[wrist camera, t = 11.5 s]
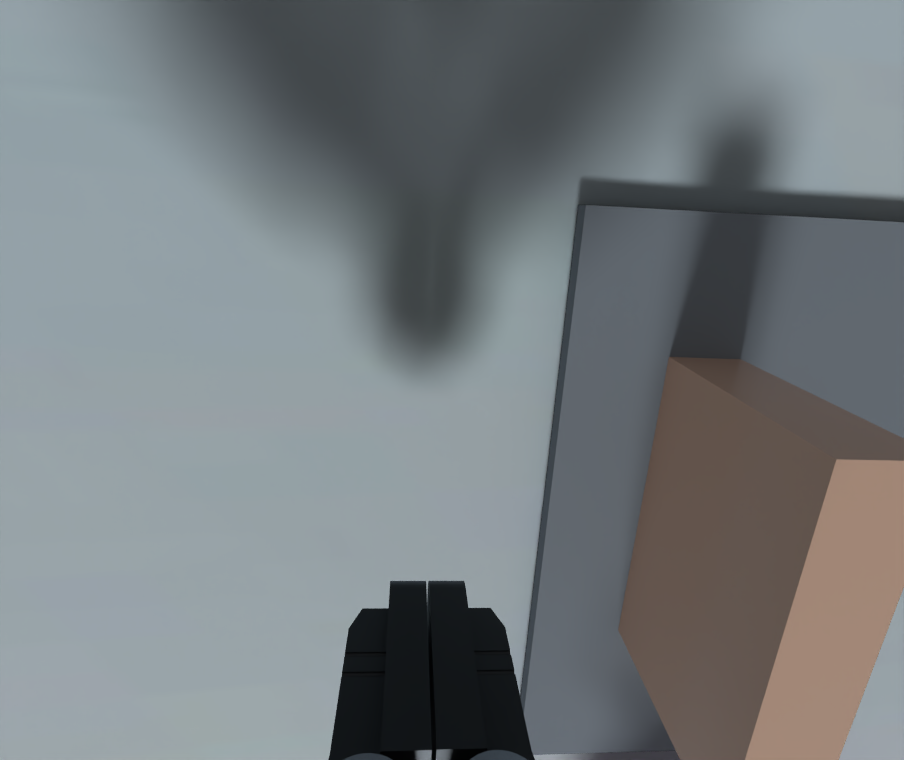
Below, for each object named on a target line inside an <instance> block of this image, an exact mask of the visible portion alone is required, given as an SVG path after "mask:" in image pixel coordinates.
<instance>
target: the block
mask: <svg viewBox="0 0 904 760" xmlns="http://www.w3.org/2000/svg"><path fill="white" fill-rule="evenodd" d="M903 588H904V438H902V437H900V436H898V435H896V434H893V433H891V432H889V431H887V430H885V429H883V428H881V427H879V426H877V425H875V424H873V423H871V422H869V421H867V420H865V419H863V418H861V417H858V416H856V415H854V414H852V413H850V412H848V411H846V410H844V409H842V408H840V407H838V406H836V405H834V404H832V403H830V402H828V401H826V400H823V399H821V398H819V397H817V396H815V395H813V394H811V393H809V392H807V391H805V390H803V389H801V388H799V387H797V386H795V385H793V384H791V383H789V382H786V381H784V380H782V379H780V378H778V377H776V376H774V375H772V374H770V373H768V372H766V371H764V370H762V369H760V368H758V367H756V366H754V365H751V364H749V363H747V362H745V361H743V360H741V359H717V358H688V357H669V360H668V365H667V370H666V376H665V381H664V386H663V392H662V397H661V403H660V408H659V413H658V419H657V424H656V429H655V435H654V440H653V446H652V451H651V456H650V462H649V467H648V472H647V478H646V483H645V489H644V494H643V499H642V505H641V510H640V515H639V521H638V526H637V532H636V537H635V542H634V548H633V553H632V558H631V564H630V569H629V575H628V580H627V585H626V591H625V596H624V601H623V607H622V612H621V618H620V623H619V628H618V631H619V633H620V635H621V637H622V639H623V641H624V643H625V645H626V647H627V650H628V652H629V654H630V656H631V658H632V660H633V662H634V664H635V666H636V668H637V670H638V673H639V675H640V677H641V679H642V681H643V683H644V685H645V687H646V689H647V691H648V694H649V696H650V698H651V700H652V702H653V704H654V706H655V708H656V710H657V712H658V714H659V717H660V719H661V721H662V723H663V725H664V727H665V729H666V731H667V733H668V735H669V738H670V740H671V742H672V744H673V746H674V748H675V750H676V752H677V754H678V756H679V758H680V760H839V757H840V754H841V752H842V749H843V747H844V744H845V741H846V739H847V736H848V733H849V731H850V728H851V725H852V723H853V720H854V717H855V715H856V712H857V710H858V707H859V704H860V702H861V699H862V696H863V694H864V691H865V688H866V686H867V683H868V680H869V678H870V675H871V673H872V670H873V667H874V665H875V662H876V659H877V657H878V654H879V651H880V649H881V646H882V643H883V641H884V638H885V636H886V633H887V630H888V628H889V625H890V622H891V620H892V617H893V614H894V612H895V609H896V606H897V604H898V601H899V599H900V596H901V593H902V591H903Z"/></svg>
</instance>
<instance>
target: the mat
mask: <svg viewBox="0 0 904 760" xmlns="http://www.w3.org/2000/svg"><path fill="white" fill-rule="evenodd" d="M669 357H688V358H717V359H741V360H743V361H745V362H747V363H749V364H751V365H754V366H756V367H758V368H760V369H762V370H764V371H766V372H768V373H770V374H772V375H774V376H776V377H778V378H780V379H782V380H784V381H786V382H789V383H791V384H793V385H795V386H797V387H799V388H801V389H803V390H805V391H807V392H809V393H811V394H813V395H815V396H817V397H819V398H821V399H823V400H826V401H828V402H830V403H832V404H834V405H836V406H838V407H840V408H842V409H844V410H846V411H848V412H850V413H852V414H854V415H856V416H858V417H861V418H863V419H865V420H867V421H869V422H871V423H873V424H875V425H877V426H879V427H881V428H883V429H885V430H887V431H889V432H891V433H893V434H896V435H898V436H900V437H902V438H904V222H889V221H871V220H853V219H834V218H816V217H797V216H779V215H761V214H742V213H724V212H705V211H687V210H669V209H650V208H632V207H613V206H595V205H579V206H578V214H577V223H576V231H575V240H574V248H573V257H572V265H571V274H570V282H569V291H568V299H567V308H566V316H565V324H564V333H563V341H562V350H561V358H560V367H559V375H558V384H557V392H556V401H555V409H554V418H553V426H552V435H551V443H550V452H549V460H548V469H547V477H546V486H545V494H544V503H543V511H542V519H541V528H540V536H539V545H538V553H537V562H536V570H535V579H534V587H533V596H532V604H531V613H530V621H529V630H528V638H527V647H526V655H525V664H524V672H523V681H522V689H521V698H520V699H521V704H522V708H523V713H524V718H525V722H526V727H527V731H528V736H529V741H530V745H531V750H532V753H533V755H542V754H575V753H609V752H643V751H676V750H675V748H674V746H673V744H672V742H671V740H670V738H669V735H668V733H667V731H666V729H665V727H664V725H663V723H662V721H661V719H660V717H659V714H658V712H657V710H656V708H655V706H654V704H653V702H652V700H651V698H650V696H649V694H648V691H647V689H646V687H645V685H644V683H643V681H642V679H641V677H640V675H639V673H638V670H637V668H636V666H635V664H634V662H633V660H632V658H631V656H630V654H629V652H628V650H627V647H626V645H625V643H624V641H623V639H622V637H621V635H620V633H619V631H618V628H619V623H620V618H621V612H622V607H623V601H624V596H625V591H626V585H627V580H628V575H629V569H630V564H631V558H632V553H633V548H634V542H635V537H636V532H637V526H638V521H639V515H640V510H641V505H642V499H643V494H644V489H645V483H646V478H647V472H648V467H649V462H650V456H651V451H652V446H653V440H654V435H655V429H656V424H657V419H658V413H659V408H660V403H661V397H662V392H663V386H664V381H665V376H666V370H667V365H668V360H669Z"/></svg>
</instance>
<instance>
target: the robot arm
mask: <svg viewBox="0 0 904 760" xmlns="http://www.w3.org/2000/svg"><path fill="white" fill-rule="evenodd" d="M329 760H535V759H534V757H533V753H532V750H531V745H530V741H529V736H528V731H527V727H526V722H525V718H524V713H523V708H522V704H521V699H520V694H519V690H518V685H517V680H516V676H515V674H514V667H513V662H512V657H511V655H510V648H509V643H508V639H507V634H506V629H505V627H504V625H503V624H502V623H501V621H500V620H499V619H498V617H497V616H496V615H495V613H494V612H493V611H492V609H491V608H468V603H467V595H466V588H465V583H464V581H429V582H428V597H427V594H426V581H390V596H389V608H388V609H362V610H361V612H360V613H359V614H358V616H357V617H356V619H355V620H354V622H353V623H352V625H351V626H350V628H349V631H348V637H347V644H346V650H345V657H344V664H343V670H342V677H341V684H340V690H339V697H338V704H337V710H336V717H335V724H334V730H333V737H332V744H331V750H330V756H329Z"/></svg>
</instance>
